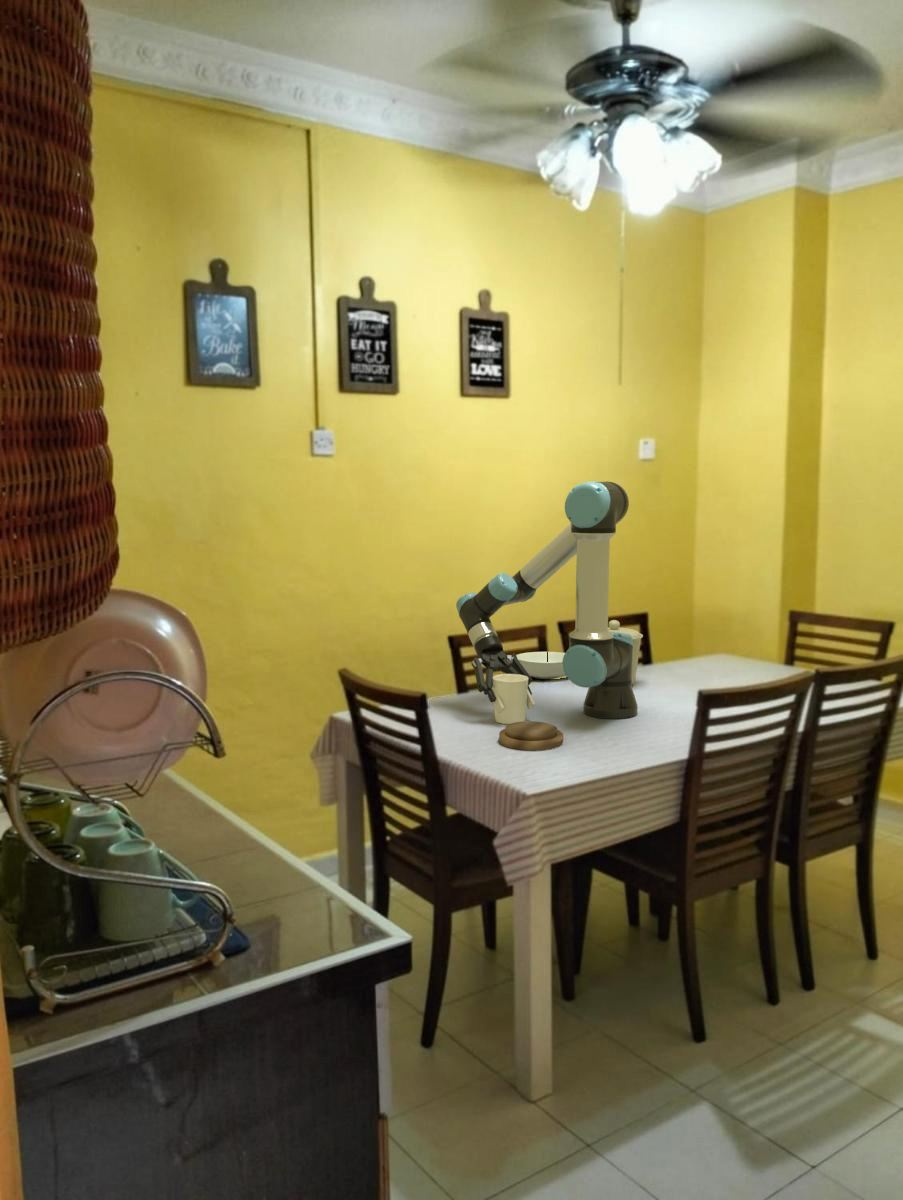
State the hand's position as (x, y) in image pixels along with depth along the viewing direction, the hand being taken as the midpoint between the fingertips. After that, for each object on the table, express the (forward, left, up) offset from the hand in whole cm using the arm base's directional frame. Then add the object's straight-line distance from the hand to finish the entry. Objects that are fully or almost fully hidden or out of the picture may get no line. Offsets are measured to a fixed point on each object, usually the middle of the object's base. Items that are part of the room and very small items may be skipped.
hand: (516, 708), depth 249 cm
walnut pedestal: (-9, +16, -4) cm, 18 cm away
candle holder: (+2, -2, -4) cm, 5 cm away
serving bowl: (+8, -62, -4) cm, 63 cm away
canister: (-16, -56, -4) cm, 58 cm away
